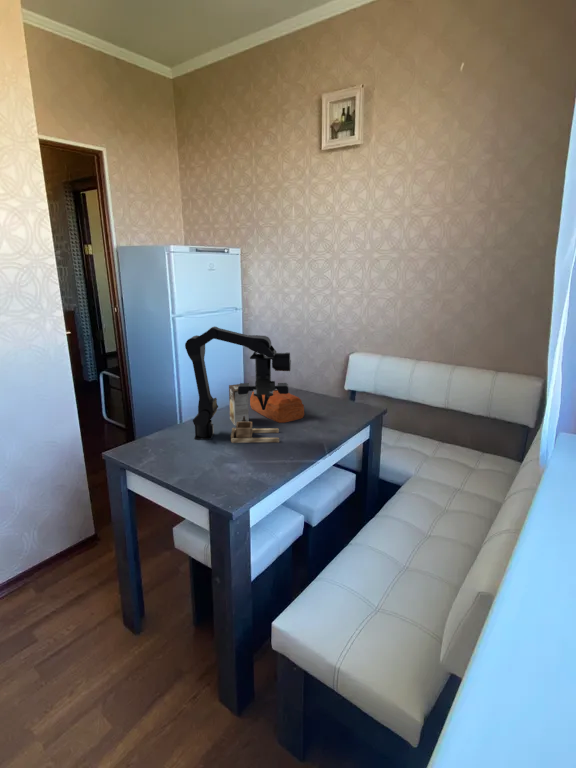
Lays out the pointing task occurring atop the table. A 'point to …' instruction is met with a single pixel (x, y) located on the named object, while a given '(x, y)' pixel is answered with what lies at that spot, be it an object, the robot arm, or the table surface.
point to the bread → (279, 407)
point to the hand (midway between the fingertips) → (263, 409)
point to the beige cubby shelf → (249, 440)
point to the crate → (244, 430)
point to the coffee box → (238, 405)
